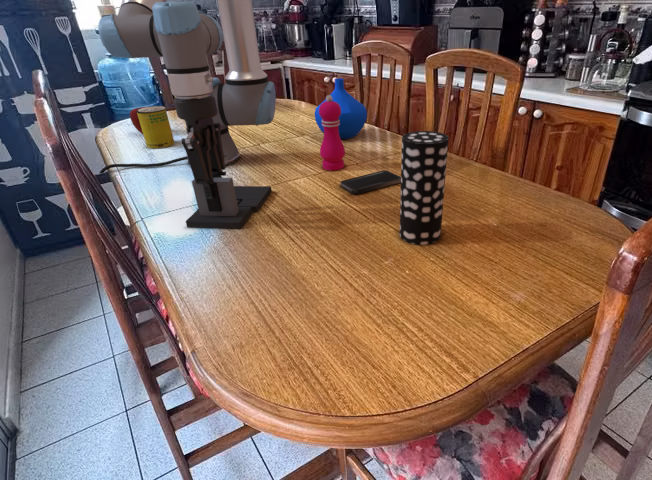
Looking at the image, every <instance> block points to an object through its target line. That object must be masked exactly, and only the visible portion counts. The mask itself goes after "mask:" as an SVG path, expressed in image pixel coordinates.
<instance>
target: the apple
mask: <svg viewBox="0 0 652 480" xmlns="http://www.w3.org/2000/svg"><path fill="white" fill-rule="evenodd" d="M145 107H146V106H140V107H135V108H133V109H131V110H130V112H129V119H130V122H131V124H132V125H133V126H134V128H135V129H136V130H137V131H138V132H139V133H140V134H141V135H143V132H142V128H141V125H140V121H139V118H138V115H137V111H136V110H138V109H141V108H145Z"/></svg>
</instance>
